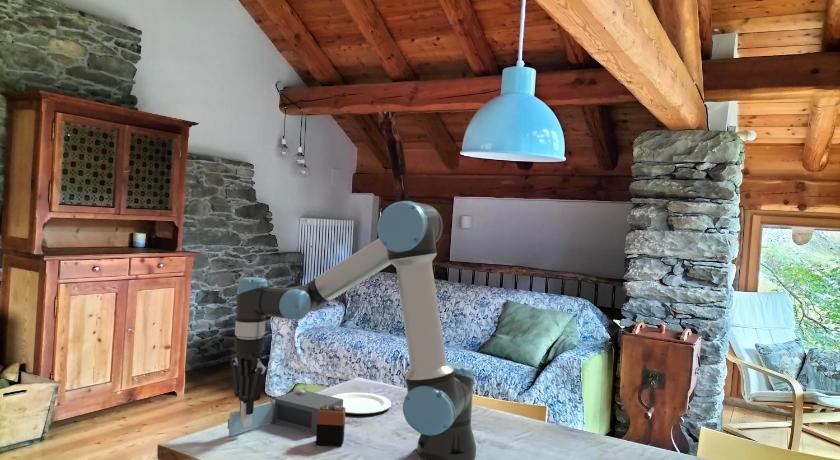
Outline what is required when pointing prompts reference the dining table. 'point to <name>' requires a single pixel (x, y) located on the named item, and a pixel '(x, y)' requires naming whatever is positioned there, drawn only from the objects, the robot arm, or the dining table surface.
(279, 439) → the dining table surface
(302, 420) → the camera body
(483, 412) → the dining table surface
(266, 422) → the door
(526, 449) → the dining table surface
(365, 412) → the plate
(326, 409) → the battery
